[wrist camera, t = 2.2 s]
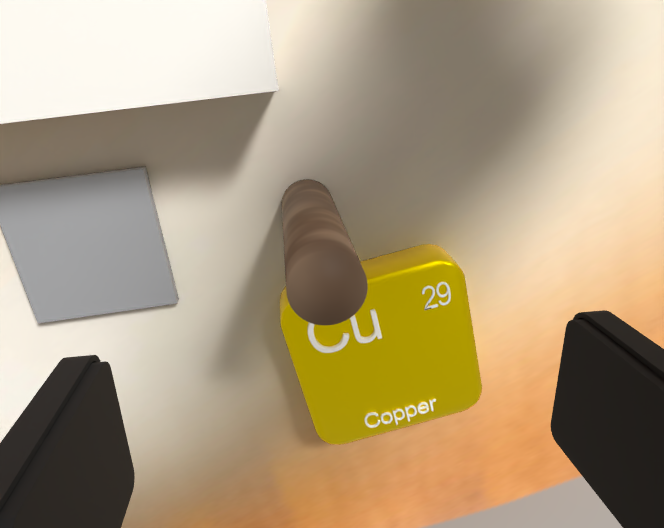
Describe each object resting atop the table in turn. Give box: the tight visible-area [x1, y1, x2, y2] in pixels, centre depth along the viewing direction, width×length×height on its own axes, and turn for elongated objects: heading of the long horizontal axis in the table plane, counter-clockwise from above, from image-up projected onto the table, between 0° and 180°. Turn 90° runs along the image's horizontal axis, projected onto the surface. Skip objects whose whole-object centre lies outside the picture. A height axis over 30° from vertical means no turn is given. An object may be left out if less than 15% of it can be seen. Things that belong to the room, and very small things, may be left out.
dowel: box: [282, 179, 368, 325], centre depth 31 cm, size 4×4×16 cm
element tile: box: [280, 244, 482, 445], centre depth 42 cm, size 15×15×5 cm
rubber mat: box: [0, 167, 179, 323], centre depth 38 cm, size 11×11×1 cm
